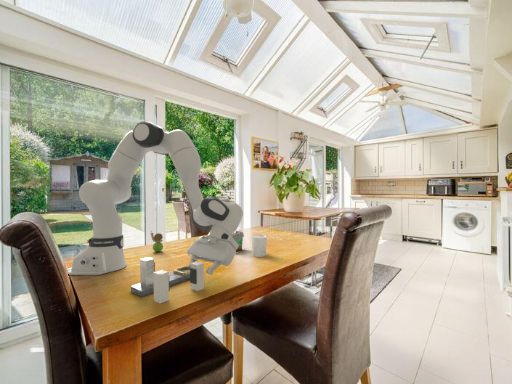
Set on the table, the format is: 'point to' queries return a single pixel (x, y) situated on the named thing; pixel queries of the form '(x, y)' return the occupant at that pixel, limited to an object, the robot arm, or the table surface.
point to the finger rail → (151, 288)
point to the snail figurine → (157, 242)
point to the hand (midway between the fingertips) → (199, 270)
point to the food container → (238, 239)
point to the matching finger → (197, 276)
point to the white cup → (259, 245)
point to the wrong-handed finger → (161, 286)
